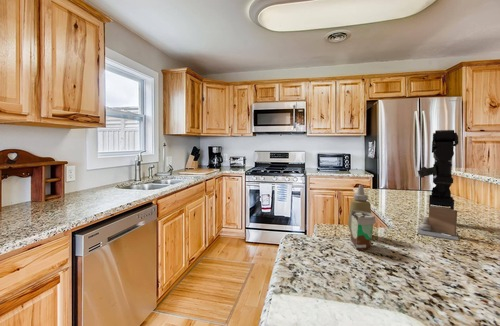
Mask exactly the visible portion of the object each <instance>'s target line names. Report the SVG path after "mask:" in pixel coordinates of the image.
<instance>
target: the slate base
mask: <svg viewBox="0 0 500 326" xmlns="http://www.w3.org/2000/svg"><path fill="white" fill-rule="evenodd" d="M417 235H419V236H420V235H422V236H425V237H426V236H427V237H432V238H439V239H445V240H451V241H457V242H459V240H460V239H459V237H458V234H457V232H456V235H452V234H447V233H443V232H438V231H434V230H423V229H420V225H419V226H418V230H417Z"/></svg>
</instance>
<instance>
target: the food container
mask: <svg viewBox="0 0 500 326" xmlns="http://www.w3.org/2000/svg"><path fill="white" fill-rule="evenodd" d="M375 224H376V217H375V215H374V214H373V213H372V212H371V213H367V212H363V211H356V210H351V233H350V242H351V243H352V245H353V247H354V249H355V250H356V251H367V250H371V246H372V238H373V237H372V236H373V229H374V225H375Z"/></svg>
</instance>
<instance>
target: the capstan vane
mask: <svg viewBox="0 0 500 326" xmlns="http://www.w3.org/2000/svg"><path fill="white" fill-rule="evenodd" d="M432 206H433V205H430V207H429V206H428V217H427V216H424V217H423V222H419V226H420V229H423V230H434V231H438V232H443V233H447V234H452V235H456V233H457V226H458V224H457V223H458V210H457V209H456V210H455V209H454V210H451V209H445V208H439V207H432Z"/></svg>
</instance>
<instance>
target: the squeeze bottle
mask: <svg viewBox="0 0 500 326" xmlns="http://www.w3.org/2000/svg"><path fill="white" fill-rule="evenodd" d="M368 198H369V196H368V195H367V194H365V190H364V185H363V184H359V185H358V190H357V192H356V194H353V200H350V206H349V211H348V218H347V227H348V230H349V232H350V234H351V210H356V211H363V212H367V213H371V214H372V208H371V202H370V201H368V200H369V199H368Z"/></svg>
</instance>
